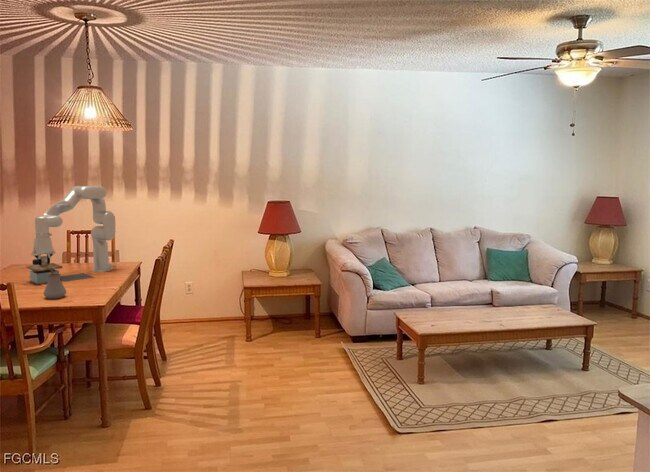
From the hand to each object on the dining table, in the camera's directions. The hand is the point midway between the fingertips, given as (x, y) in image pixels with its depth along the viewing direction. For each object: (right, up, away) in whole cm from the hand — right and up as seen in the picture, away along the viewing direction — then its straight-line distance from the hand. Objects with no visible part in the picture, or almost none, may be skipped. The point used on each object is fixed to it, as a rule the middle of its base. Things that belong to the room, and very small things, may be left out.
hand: (44, 264), depth 334 cm
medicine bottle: (-12, -9, +15) cm, 21 cm away
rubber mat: (+12, -10, +14) cm, 21 cm away
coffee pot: (+24, -16, -34) cm, 44 cm away
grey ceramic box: (0, -11, +1) cm, 11 cm away
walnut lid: (0, -2, 0) cm, 2 cm away
